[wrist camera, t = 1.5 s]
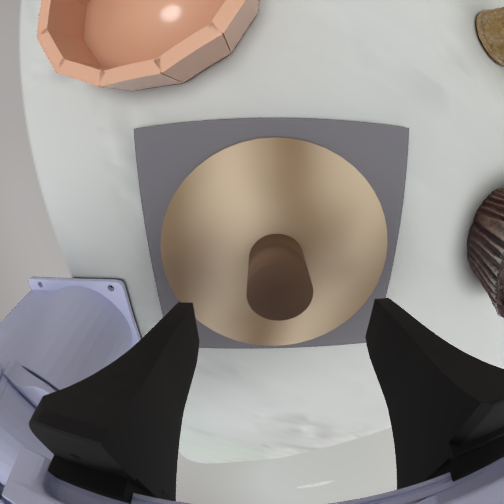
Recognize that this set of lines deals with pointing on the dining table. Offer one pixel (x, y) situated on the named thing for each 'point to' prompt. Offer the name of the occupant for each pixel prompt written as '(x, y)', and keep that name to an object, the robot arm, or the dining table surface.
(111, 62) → the bowl
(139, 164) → the mat
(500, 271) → the cupcake
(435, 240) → the dining table surface
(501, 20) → the sprinkles bottle
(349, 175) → the lid
